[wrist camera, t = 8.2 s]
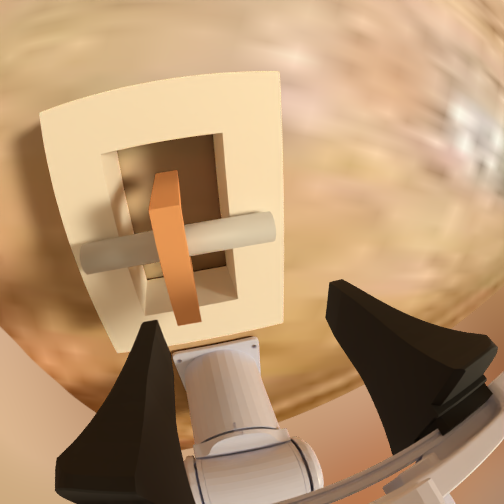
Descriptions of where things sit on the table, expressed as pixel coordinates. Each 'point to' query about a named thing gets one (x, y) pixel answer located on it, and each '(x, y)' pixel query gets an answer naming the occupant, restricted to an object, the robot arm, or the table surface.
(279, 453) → the robot arm
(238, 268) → the cream frame with crossbar
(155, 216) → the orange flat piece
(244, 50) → the table surface
